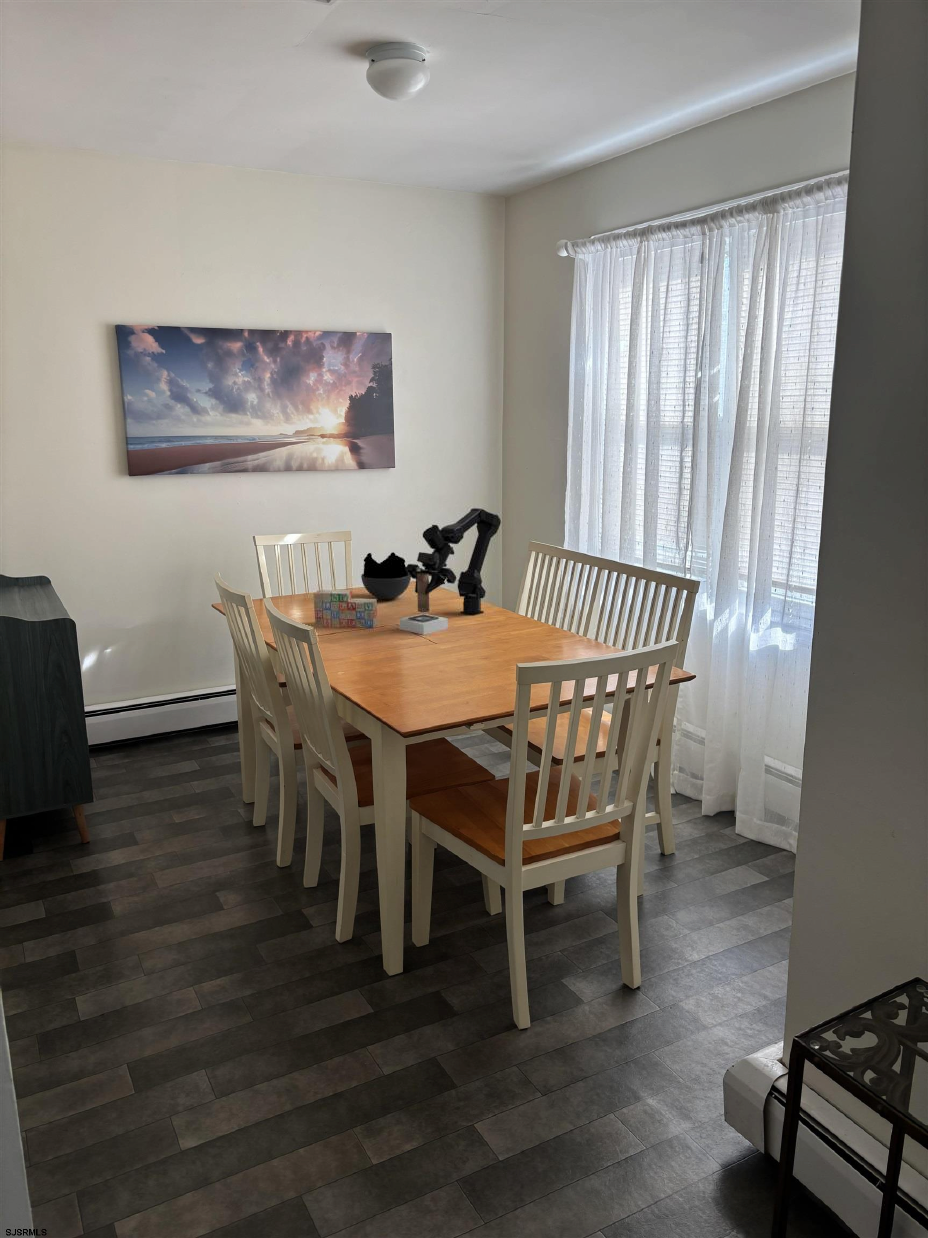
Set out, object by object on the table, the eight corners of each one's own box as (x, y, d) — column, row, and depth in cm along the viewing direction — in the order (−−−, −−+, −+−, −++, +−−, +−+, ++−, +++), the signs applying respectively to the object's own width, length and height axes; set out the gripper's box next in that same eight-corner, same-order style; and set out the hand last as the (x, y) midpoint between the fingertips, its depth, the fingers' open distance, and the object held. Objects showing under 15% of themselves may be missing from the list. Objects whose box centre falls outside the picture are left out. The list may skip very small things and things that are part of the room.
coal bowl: (421, 597, 368) (420, 551, 363) (391, 606, 351) (390, 558, 347) (381, 592, 378) (380, 547, 374) (351, 600, 362) (350, 554, 357)
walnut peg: (426, 609, 316) (426, 572, 313) (430, 611, 313) (430, 574, 310) (416, 610, 315) (415, 573, 312) (420, 612, 311) (419, 575, 308)
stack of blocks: (377, 624, 323) (376, 590, 320) (373, 628, 317) (372, 594, 314) (319, 622, 326) (318, 589, 323) (314, 626, 320) (313, 592, 317)
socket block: (423, 623, 323) (423, 612, 322) (447, 628, 315) (447, 617, 315) (399, 629, 315) (399, 617, 314) (423, 634, 307) (423, 623, 306)
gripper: (408, 541, 317) (389, 576, 310) (451, 545, 306) (432, 582, 300) (421, 560, 325) (403, 595, 319) (464, 564, 315) (446, 601, 308)
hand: (420, 593), depth 311 cm, fingers closed on walnut peg, 4 cm apart
